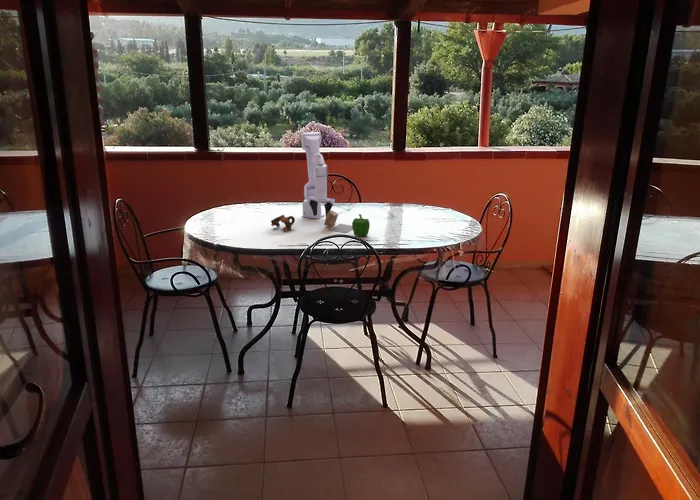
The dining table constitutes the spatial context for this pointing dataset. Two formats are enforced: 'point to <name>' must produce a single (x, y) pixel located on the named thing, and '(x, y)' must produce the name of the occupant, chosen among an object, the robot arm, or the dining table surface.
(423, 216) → the dining table surface
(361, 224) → the bell pepper
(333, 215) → the walnut block
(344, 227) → the slate mat
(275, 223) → the brown irregular piece
